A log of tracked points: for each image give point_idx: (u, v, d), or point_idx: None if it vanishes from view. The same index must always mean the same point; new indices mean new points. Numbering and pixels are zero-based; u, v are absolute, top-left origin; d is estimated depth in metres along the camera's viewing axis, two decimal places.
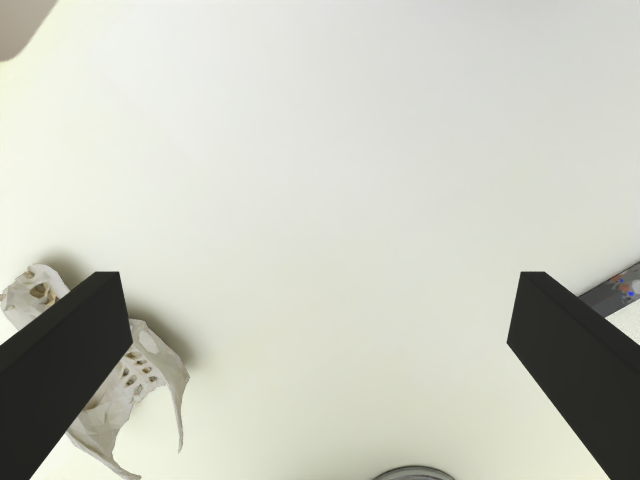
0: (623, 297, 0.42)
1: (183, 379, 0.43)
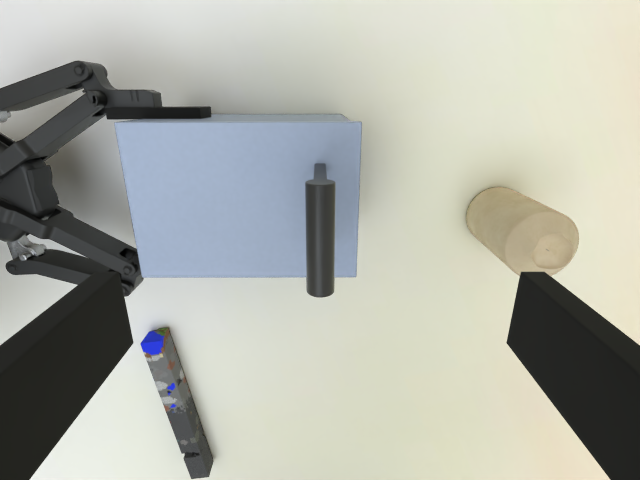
0: (175, 411, 0.43)
1: None
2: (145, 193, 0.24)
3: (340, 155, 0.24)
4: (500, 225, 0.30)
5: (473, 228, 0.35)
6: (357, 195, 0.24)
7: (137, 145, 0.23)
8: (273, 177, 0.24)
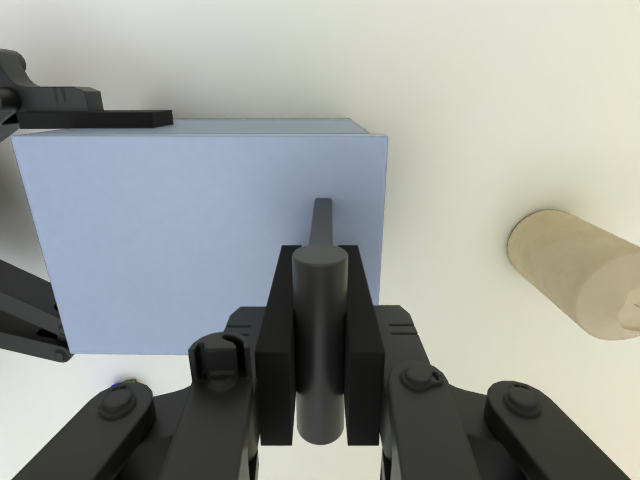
0: None
1: None
2: (66, 239, 0.16)
3: (353, 185, 0.15)
4: (565, 267, 0.23)
5: (519, 263, 0.28)
6: (379, 244, 0.16)
7: (47, 170, 0.15)
8: (253, 218, 0.16)
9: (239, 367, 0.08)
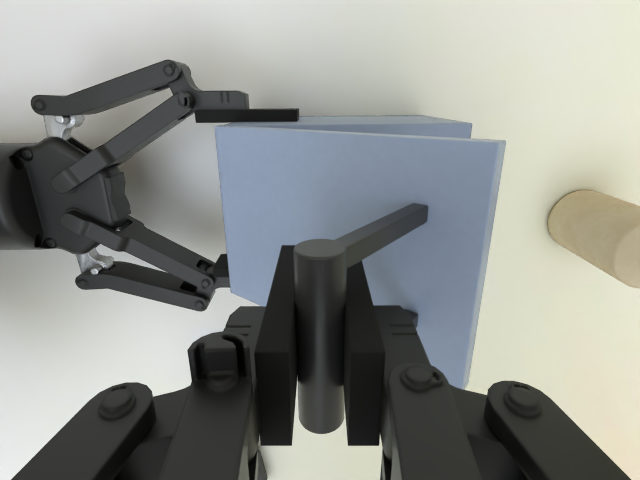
0: None
1: None
2: (235, 205, 0.22)
3: (453, 195, 0.14)
4: (604, 231, 0.29)
5: (559, 234, 0.34)
6: (477, 267, 0.14)
7: (230, 152, 0.21)
8: (356, 213, 0.17)
9: (239, 367, 0.08)
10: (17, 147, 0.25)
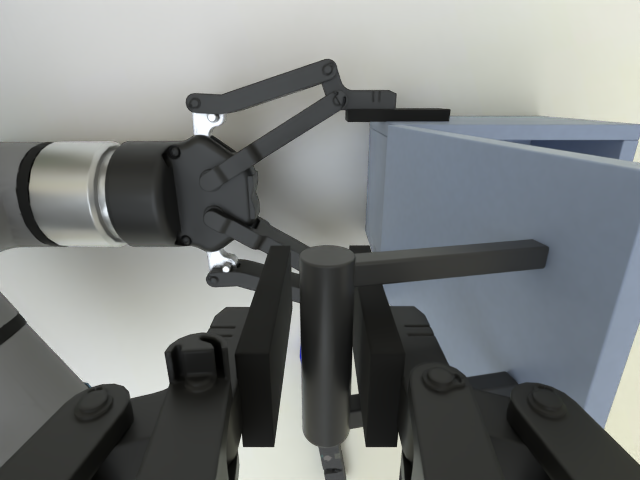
0: None
1: None
2: (391, 205, 0.22)
3: (581, 240, 0.10)
4: None
5: None
6: (596, 353, 0.09)
7: (394, 152, 0.21)
8: (477, 237, 0.14)
9: (217, 368, 0.08)
10: (165, 145, 0.25)
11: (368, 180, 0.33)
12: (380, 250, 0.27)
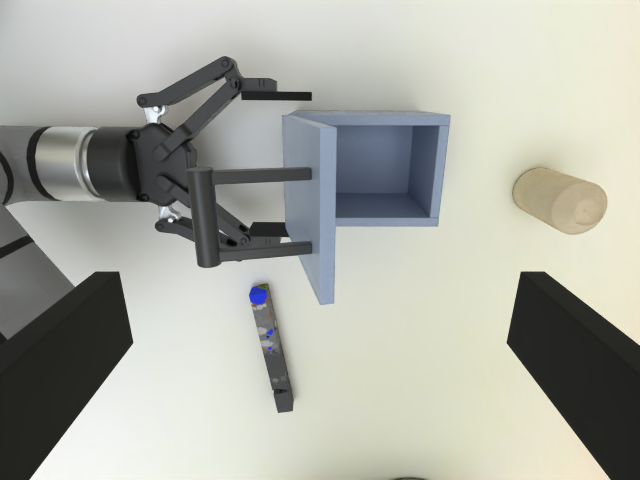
0: (270, 353, 0.53)
1: None
2: (285, 167, 0.33)
3: (314, 162, 0.21)
4: (546, 194, 0.40)
5: (520, 200, 0.45)
6: (319, 212, 0.21)
7: (284, 132, 0.32)
8: None
9: None
10: (129, 129, 0.37)
11: None
12: None
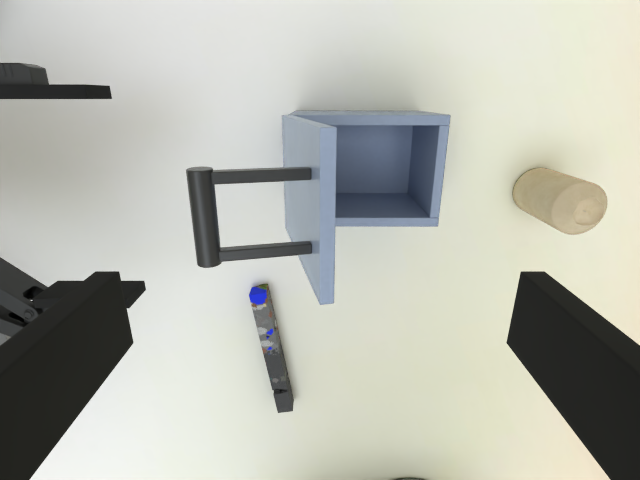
0: (270, 353, 0.53)
1: None
2: (285, 167, 0.33)
3: (314, 161, 0.21)
4: (546, 194, 0.40)
5: (520, 200, 0.45)
6: (319, 211, 0.21)
7: (284, 132, 0.32)
8: None
9: None
10: None
11: None
12: None
